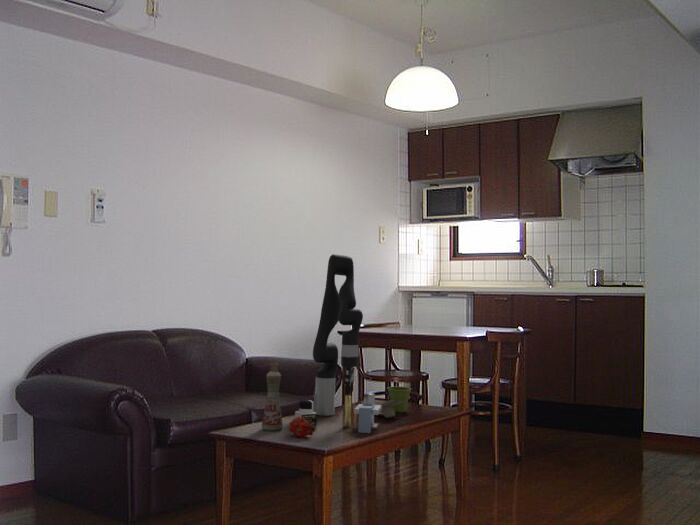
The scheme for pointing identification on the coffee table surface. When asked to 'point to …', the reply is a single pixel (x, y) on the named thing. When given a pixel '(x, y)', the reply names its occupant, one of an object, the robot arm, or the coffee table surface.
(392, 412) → the white slotted block
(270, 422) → the bottle
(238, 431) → the coffee table surface
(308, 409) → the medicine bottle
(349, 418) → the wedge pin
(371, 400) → the grey piece
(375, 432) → the coffee table surface
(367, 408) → the bracket
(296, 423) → the dragon fruit
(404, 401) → the plant pot
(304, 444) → the coffee table surface
